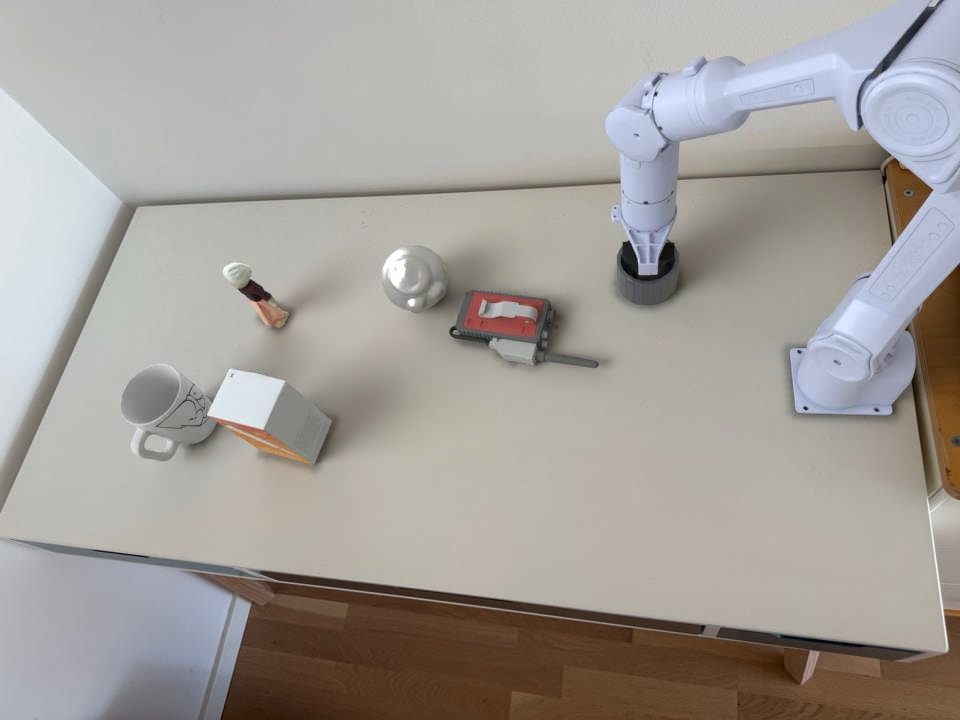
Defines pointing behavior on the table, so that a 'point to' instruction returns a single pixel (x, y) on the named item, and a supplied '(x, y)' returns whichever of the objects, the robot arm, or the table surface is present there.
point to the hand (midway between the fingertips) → (647, 259)
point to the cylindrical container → (648, 282)
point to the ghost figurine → (414, 278)
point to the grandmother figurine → (255, 294)
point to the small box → (270, 415)
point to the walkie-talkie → (511, 326)
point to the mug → (165, 410)
